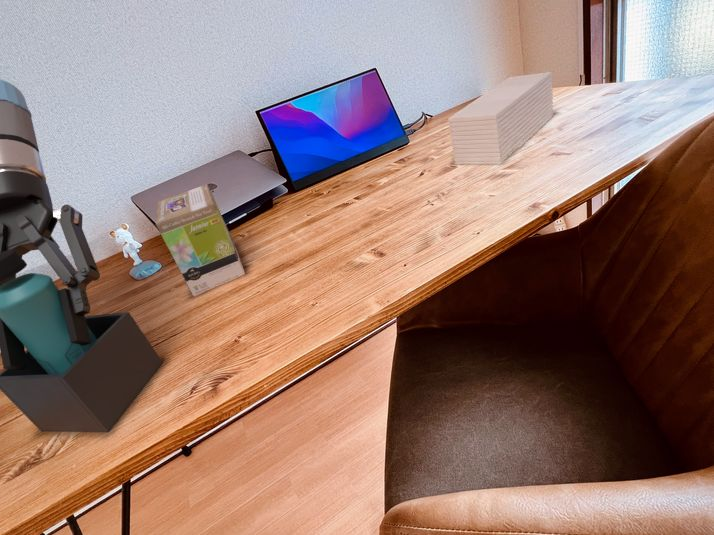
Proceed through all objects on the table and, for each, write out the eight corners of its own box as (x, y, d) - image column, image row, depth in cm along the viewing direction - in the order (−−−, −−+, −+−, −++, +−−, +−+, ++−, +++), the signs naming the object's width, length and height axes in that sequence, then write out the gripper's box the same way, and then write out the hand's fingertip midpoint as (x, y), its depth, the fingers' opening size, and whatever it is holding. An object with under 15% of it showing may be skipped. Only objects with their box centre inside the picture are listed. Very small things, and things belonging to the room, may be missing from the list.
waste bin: (43, 434, 54) (-10, 380, 49) (104, 369, 63) (64, 317, 58) (111, 435, 50) (62, 377, 45) (165, 366, 59) (128, 311, 54)
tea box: (248, 276, 76) (213, 201, 69) (194, 299, 74) (152, 224, 67) (236, 247, 89) (206, 181, 81) (190, 266, 87) (154, 200, 79)
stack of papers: (511, 119, 114) (508, 77, 109) (553, 116, 108) (551, 71, 102) (455, 166, 96) (448, 118, 90) (500, 166, 89) (496, 114, 84)
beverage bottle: (125, 384, 54) (26, 251, 44) (70, 416, 52) (-48, 281, 42) (120, 360, 59) (30, 235, 49) (69, 387, 57) (-36, 262, 47)
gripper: (104, 174, 59) (148, 327, 53) (-44, 224, 56) (-14, 390, 50) (70, 144, 52) (118, 316, 46) (-101, 199, 49) (-74, 390, 43)
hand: (49, 354), depth 48 cm, fingers closed on beverage bottle, 6 cm apart
